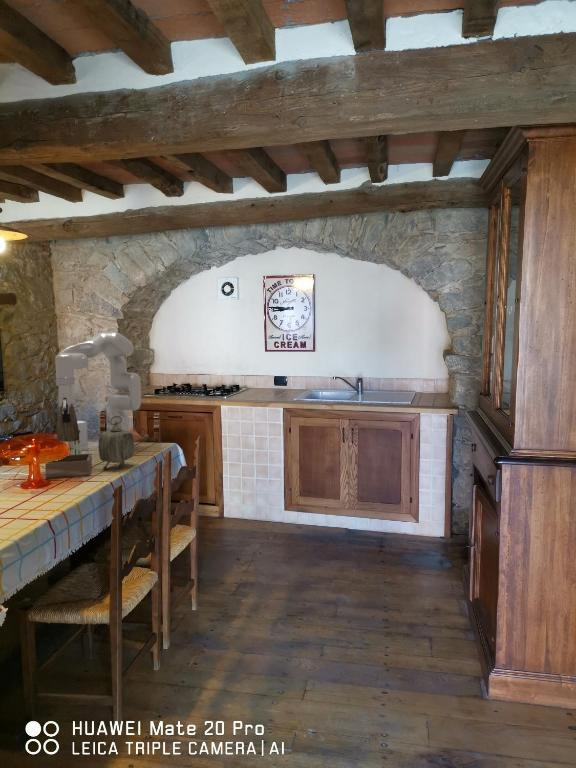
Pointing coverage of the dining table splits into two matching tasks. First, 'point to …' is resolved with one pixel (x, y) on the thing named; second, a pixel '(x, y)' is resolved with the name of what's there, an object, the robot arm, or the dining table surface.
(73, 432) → the brown tall tapered piece
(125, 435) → the tabletop clock
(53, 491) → the dining table surface
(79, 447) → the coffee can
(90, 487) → the dining table surface
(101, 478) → the dining table surface
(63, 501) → the dining table surface
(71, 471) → the walled box
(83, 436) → the skincare box
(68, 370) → the robot arm
